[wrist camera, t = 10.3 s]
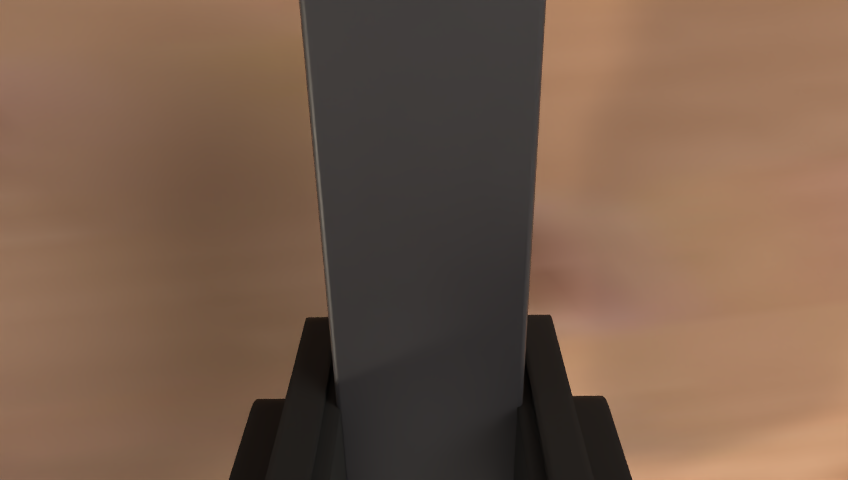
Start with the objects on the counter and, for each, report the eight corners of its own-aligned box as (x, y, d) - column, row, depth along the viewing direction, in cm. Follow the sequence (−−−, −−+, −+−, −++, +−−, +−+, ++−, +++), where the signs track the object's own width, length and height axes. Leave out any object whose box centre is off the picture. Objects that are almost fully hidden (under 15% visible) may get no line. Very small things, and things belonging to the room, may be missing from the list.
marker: (325, -66, 9) (293, -39, 7) (520, -70, 9) (549, -43, 7) (377, 648, 16) (369, 774, 14) (491, 647, 16) (501, 772, 14)
